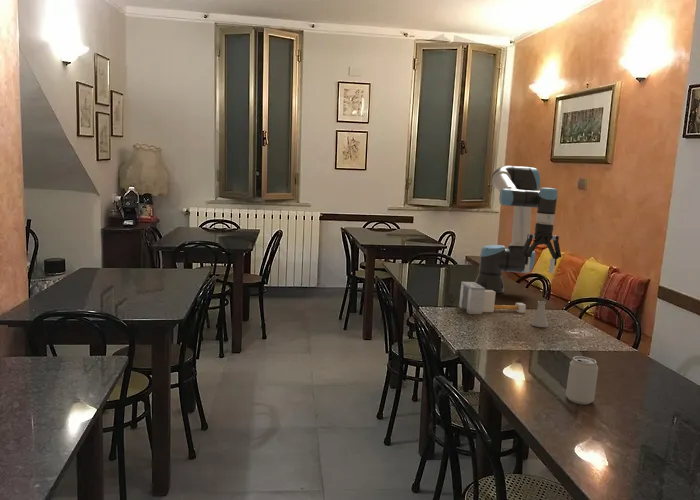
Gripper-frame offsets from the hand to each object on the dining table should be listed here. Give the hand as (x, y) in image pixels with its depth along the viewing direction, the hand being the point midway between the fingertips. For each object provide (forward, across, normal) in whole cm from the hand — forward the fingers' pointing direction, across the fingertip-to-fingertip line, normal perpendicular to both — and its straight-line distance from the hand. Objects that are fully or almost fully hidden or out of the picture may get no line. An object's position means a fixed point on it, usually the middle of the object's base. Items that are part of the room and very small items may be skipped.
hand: (538, 272), depth 267 cm
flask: (+18, -9, -22) cm, 30 cm away
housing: (+18, -30, 0) cm, 35 cm away
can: (+18, -37, -97) cm, 106 cm away
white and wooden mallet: (+18, -16, 0) cm, 24 cm away
